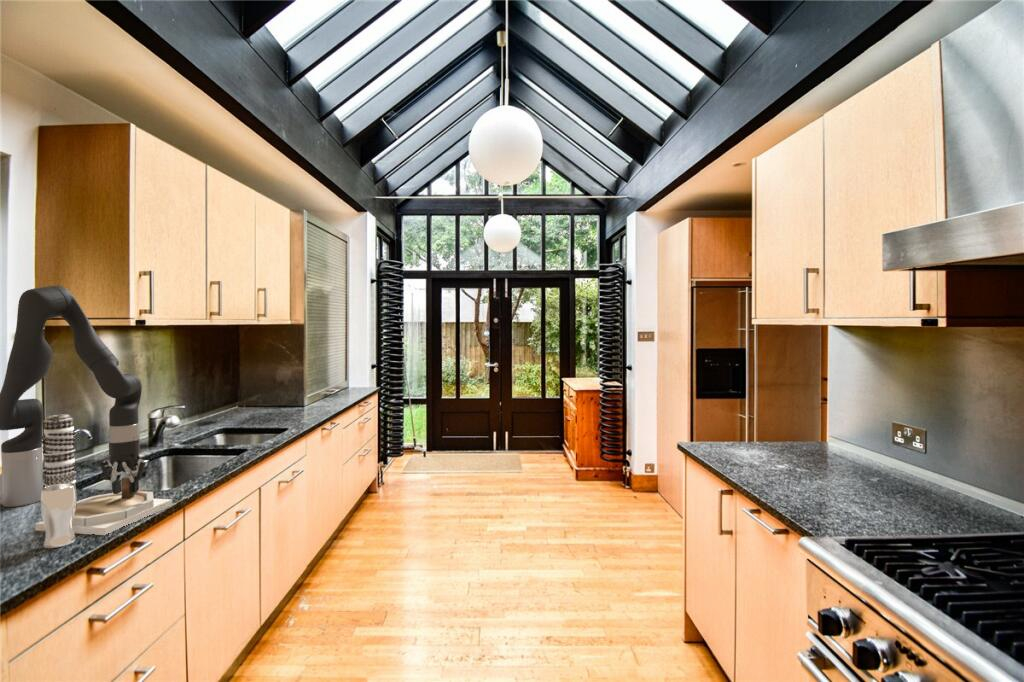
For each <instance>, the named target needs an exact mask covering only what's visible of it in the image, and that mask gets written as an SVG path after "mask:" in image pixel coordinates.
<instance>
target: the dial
mask: <svg viewBox="0 0 1024 682" xmlns="http://www.w3.org/2000/svg"><path fill="white" fill-rule="evenodd" d="M120 480H121V492H122V495H119V496H111V497H105V498H100V499H96V500H92V501H89V502H86V503H83V504H80V505H78V506H76V513H75V515H78V516H92V515H98V514H103V513H109V512H114V511H120V510H124V509H127V508H129V507H132V506H133V505H136V504H138V503H142V502H144V497H142V496H139V495H134V494H130V482H131V481H130V479H129V476H125V477H121V479H120Z"/></svg>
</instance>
